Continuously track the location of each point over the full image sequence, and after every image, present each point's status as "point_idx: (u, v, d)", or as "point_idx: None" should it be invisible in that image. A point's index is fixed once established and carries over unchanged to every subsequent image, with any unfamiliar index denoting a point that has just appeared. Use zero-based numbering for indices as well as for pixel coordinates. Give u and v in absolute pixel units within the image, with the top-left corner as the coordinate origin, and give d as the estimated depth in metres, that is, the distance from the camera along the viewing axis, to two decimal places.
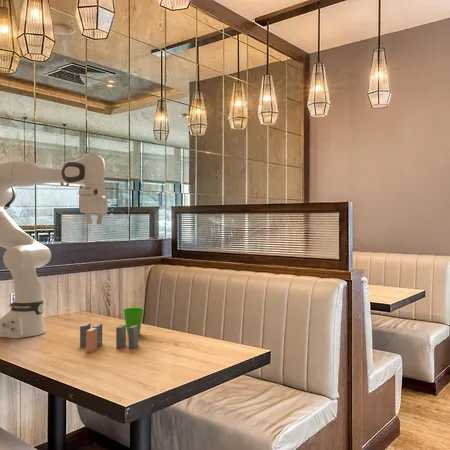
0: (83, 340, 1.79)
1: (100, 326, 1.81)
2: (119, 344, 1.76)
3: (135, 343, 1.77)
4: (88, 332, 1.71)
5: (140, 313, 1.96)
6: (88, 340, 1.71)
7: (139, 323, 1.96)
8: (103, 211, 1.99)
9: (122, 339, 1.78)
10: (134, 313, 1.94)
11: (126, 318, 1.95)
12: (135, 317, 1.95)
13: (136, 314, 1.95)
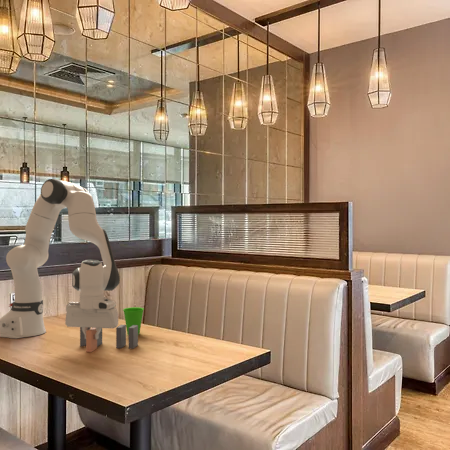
0: (83, 340, 1.79)
1: None
2: (119, 344, 1.76)
3: (135, 343, 1.77)
4: (88, 332, 1.71)
5: (140, 313, 1.96)
6: (88, 340, 1.71)
7: (139, 323, 1.96)
8: None
9: (122, 339, 1.78)
10: (134, 313, 1.94)
11: (126, 318, 1.95)
12: (135, 317, 1.95)
13: (136, 314, 1.95)
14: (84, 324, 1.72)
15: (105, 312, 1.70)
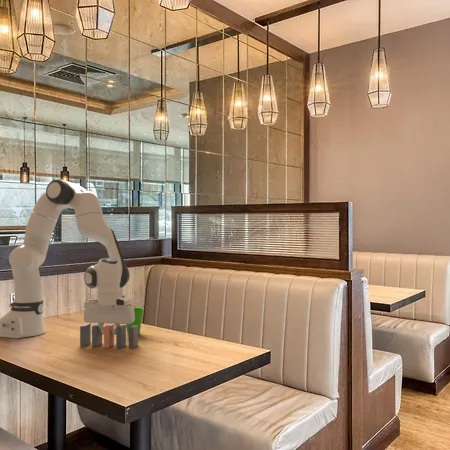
0: (83, 340, 1.79)
1: None
2: (119, 344, 1.76)
3: (135, 343, 1.77)
4: (106, 328, 1.77)
5: (140, 313, 1.96)
6: (106, 336, 1.77)
7: (139, 323, 1.96)
8: None
9: (122, 339, 1.78)
10: None
11: None
12: (135, 317, 1.95)
13: (136, 314, 1.95)
14: (102, 320, 1.78)
15: (122, 309, 1.77)
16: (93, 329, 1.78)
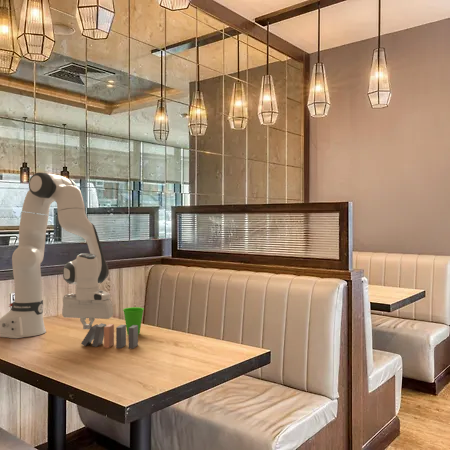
0: (86, 340, 1.79)
1: None
2: (119, 344, 1.76)
3: (135, 343, 1.77)
4: (106, 328, 1.77)
5: (140, 313, 1.96)
6: (106, 336, 1.77)
7: (139, 323, 1.96)
8: None
9: (122, 339, 1.78)
10: (134, 313, 1.94)
11: (126, 318, 1.95)
12: (135, 317, 1.95)
13: (136, 314, 1.95)
14: (80, 315, 1.80)
15: (100, 303, 1.78)
16: (97, 329, 1.78)
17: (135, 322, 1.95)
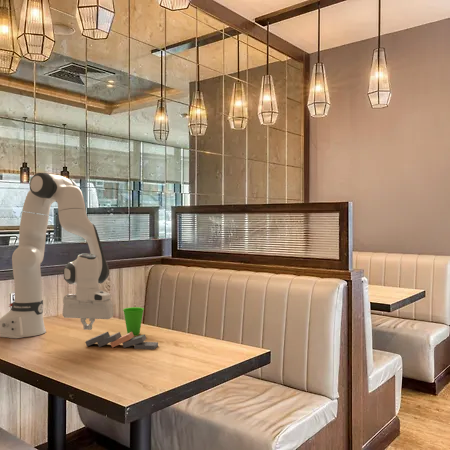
0: (91, 343, 1.78)
1: (118, 338, 1.80)
2: (126, 345, 1.76)
3: None
4: (127, 337, 1.76)
5: (140, 313, 1.96)
6: (121, 340, 1.76)
7: (139, 323, 1.96)
8: None
9: None
10: (134, 313, 1.94)
11: (126, 318, 1.95)
12: (135, 317, 1.95)
13: (136, 314, 1.95)
14: (80, 315, 1.80)
15: (101, 304, 1.78)
16: (112, 337, 1.77)
17: (135, 322, 1.95)
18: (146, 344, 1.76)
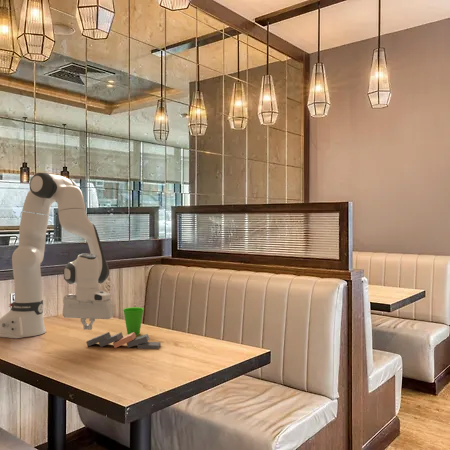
0: (92, 343, 1.78)
1: (120, 338, 1.79)
2: (130, 345, 1.76)
3: None
4: (130, 337, 1.76)
5: (140, 313, 1.96)
6: (124, 341, 1.76)
7: (139, 323, 1.96)
8: None
9: None
10: (134, 313, 1.94)
11: (126, 318, 1.95)
12: (135, 317, 1.95)
13: (136, 314, 1.95)
14: (80, 315, 1.80)
15: (101, 304, 1.78)
16: (113, 338, 1.76)
17: (135, 322, 1.95)
18: (149, 344, 1.77)
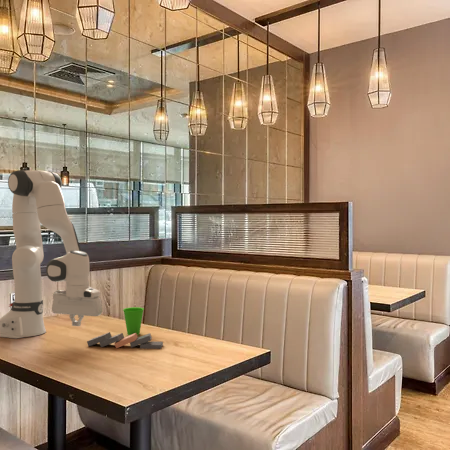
0: (93, 343, 1.78)
1: (120, 339, 1.79)
2: (133, 345, 1.76)
3: None
4: (132, 338, 1.76)
5: (140, 313, 1.96)
6: (125, 341, 1.76)
7: (139, 323, 1.96)
8: None
9: None
10: (134, 313, 1.94)
11: (126, 318, 1.95)
12: (135, 317, 1.95)
13: (136, 314, 1.95)
14: (69, 311, 1.81)
15: (90, 301, 1.80)
16: (114, 338, 1.76)
17: (135, 322, 1.95)
18: (152, 343, 1.77)
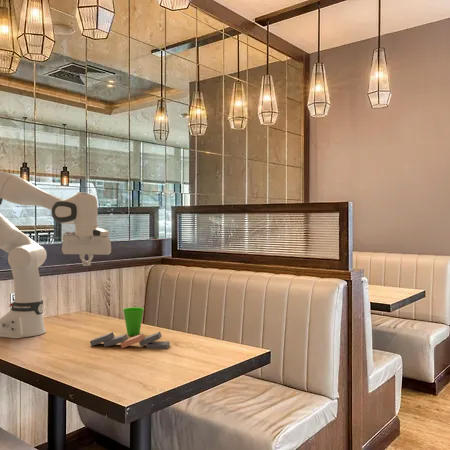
0: (96, 343, 1.79)
1: None
2: (143, 344, 1.76)
3: None
4: (137, 339, 1.75)
5: (140, 313, 1.96)
6: (131, 341, 1.76)
7: (139, 323, 1.96)
8: None
9: None
10: (134, 313, 1.94)
11: (126, 318, 1.95)
12: (135, 317, 1.95)
13: (136, 314, 1.95)
14: (79, 251, 1.85)
15: (99, 239, 1.83)
16: (119, 339, 1.77)
17: (135, 322, 1.95)
18: (158, 343, 1.77)
